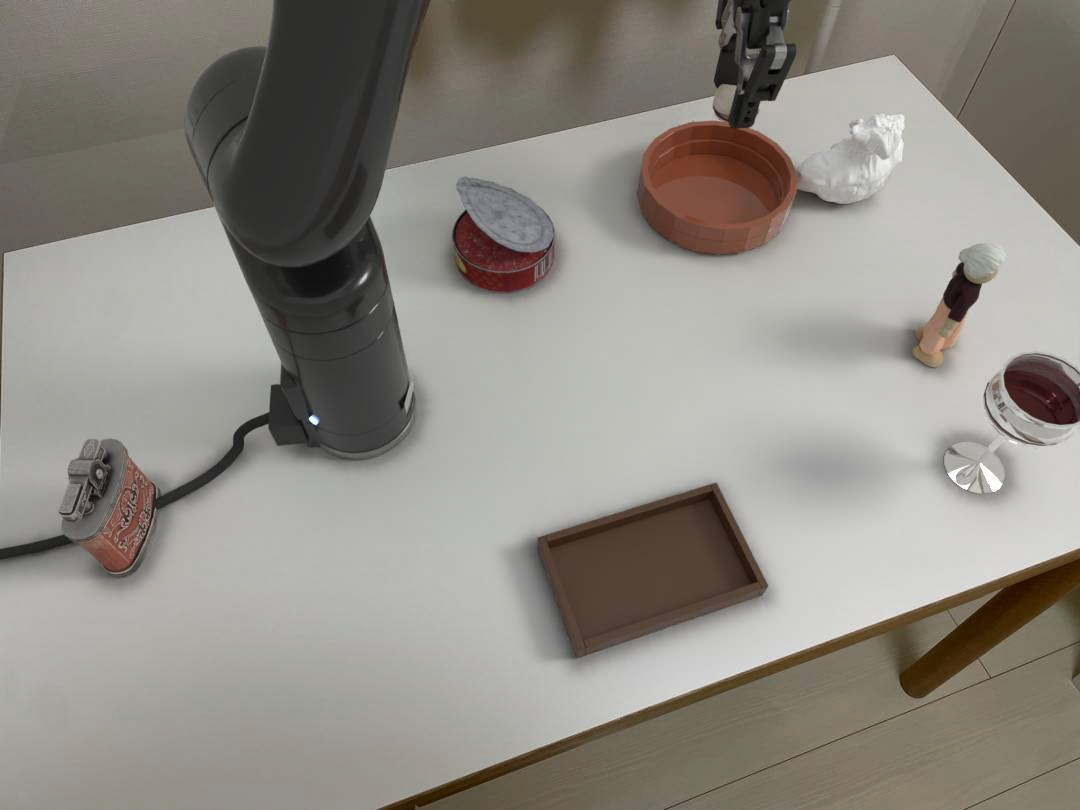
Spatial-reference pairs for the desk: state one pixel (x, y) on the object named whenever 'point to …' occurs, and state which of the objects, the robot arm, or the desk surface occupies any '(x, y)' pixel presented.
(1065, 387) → the wineglass
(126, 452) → the lighter
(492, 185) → the canned food
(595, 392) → the desk surface
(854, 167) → the bust
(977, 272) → the grandmother figurine
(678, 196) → the bowl
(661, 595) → the tray
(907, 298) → the desk surface
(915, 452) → the desk surface
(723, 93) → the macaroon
